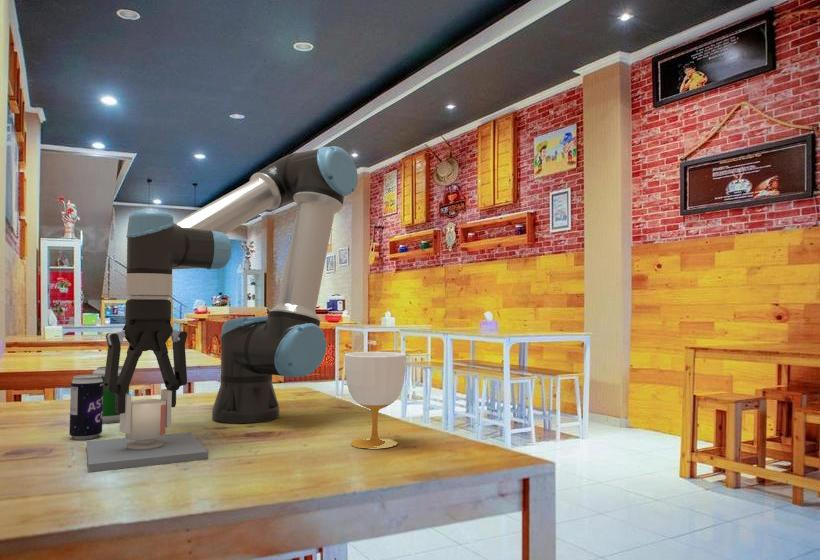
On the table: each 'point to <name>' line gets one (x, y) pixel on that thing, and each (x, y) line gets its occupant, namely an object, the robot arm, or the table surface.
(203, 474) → the table surface
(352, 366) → the cup
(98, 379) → the beverage can
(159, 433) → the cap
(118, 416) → the soda can
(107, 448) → the flat gray rectangular base
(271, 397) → the robot arm
